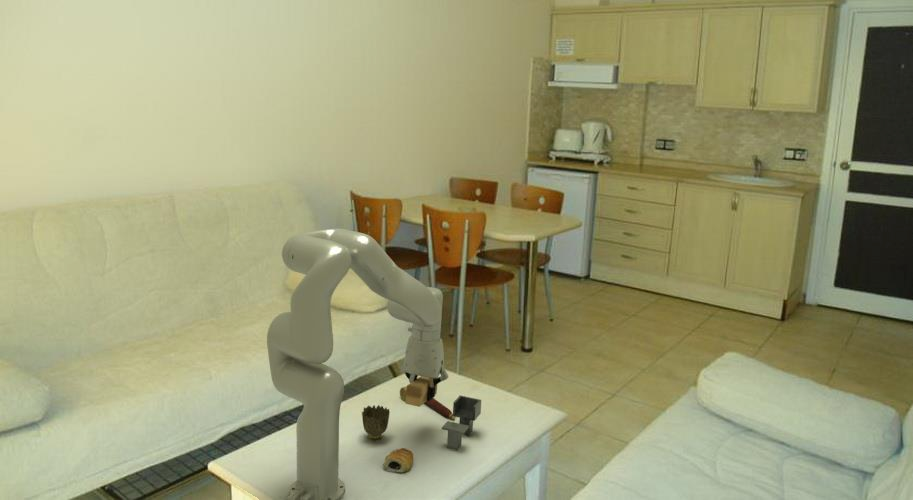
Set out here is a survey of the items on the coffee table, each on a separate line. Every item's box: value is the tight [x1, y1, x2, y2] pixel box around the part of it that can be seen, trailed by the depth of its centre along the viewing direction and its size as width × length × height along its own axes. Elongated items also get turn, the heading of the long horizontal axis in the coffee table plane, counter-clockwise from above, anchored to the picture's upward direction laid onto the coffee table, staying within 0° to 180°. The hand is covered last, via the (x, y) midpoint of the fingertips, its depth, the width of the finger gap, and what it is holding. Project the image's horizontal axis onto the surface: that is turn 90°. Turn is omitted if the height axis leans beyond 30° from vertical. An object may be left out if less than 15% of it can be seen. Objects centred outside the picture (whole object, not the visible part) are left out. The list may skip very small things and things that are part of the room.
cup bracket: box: [452, 395, 482, 437], centre depth 197 cm, size 5×6×10 cm
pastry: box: [382, 447, 414, 474], centre depth 180 cm, size 9×7×4 cm
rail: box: [405, 376, 439, 407], centre depth 194 cm, size 12×4×5 cm, turn 159°
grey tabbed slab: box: [441, 420, 468, 452], centre depth 190 cm, size 4×6×6 cm, turn 69°
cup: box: [361, 404, 391, 441], centre depth 192 cm, size 8×7×8 cm
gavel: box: [399, 385, 456, 421], centre depth 213 cm, size 21×5×10 cm
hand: (422, 396), depth 195 cm, fingers closed on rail, 4 cm apart
